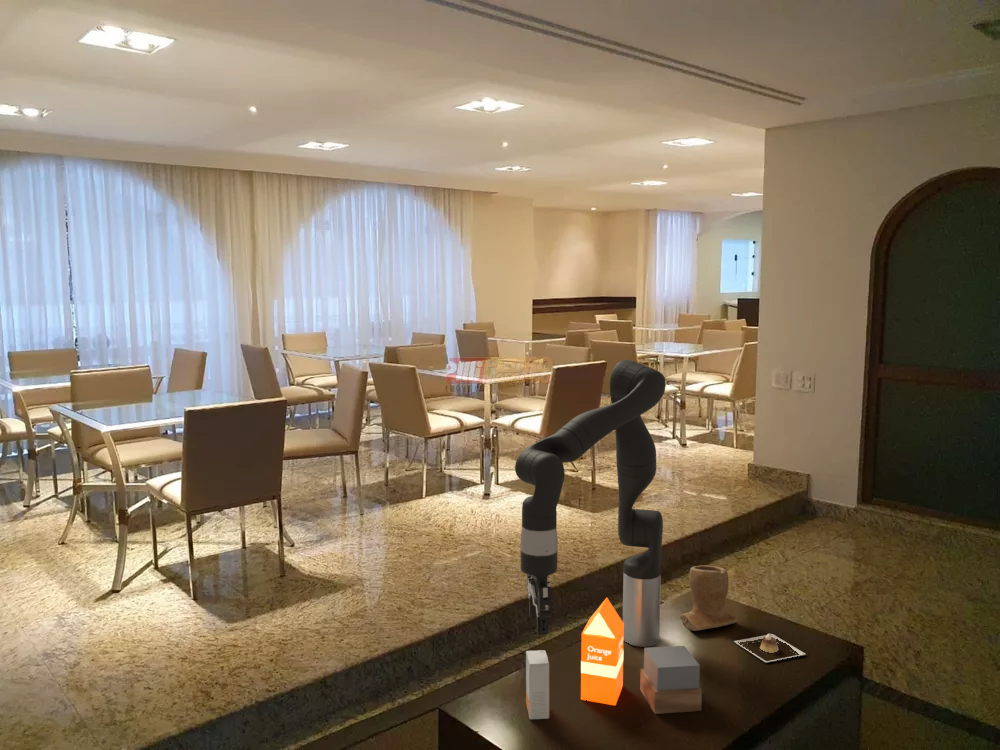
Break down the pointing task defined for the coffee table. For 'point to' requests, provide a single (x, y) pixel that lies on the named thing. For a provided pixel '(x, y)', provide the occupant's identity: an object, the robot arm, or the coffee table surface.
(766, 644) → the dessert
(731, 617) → the stone cup
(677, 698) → the walnut base block
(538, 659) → the skincare box
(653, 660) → the gray top block
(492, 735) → the coffee table surface
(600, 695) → the orange juice
